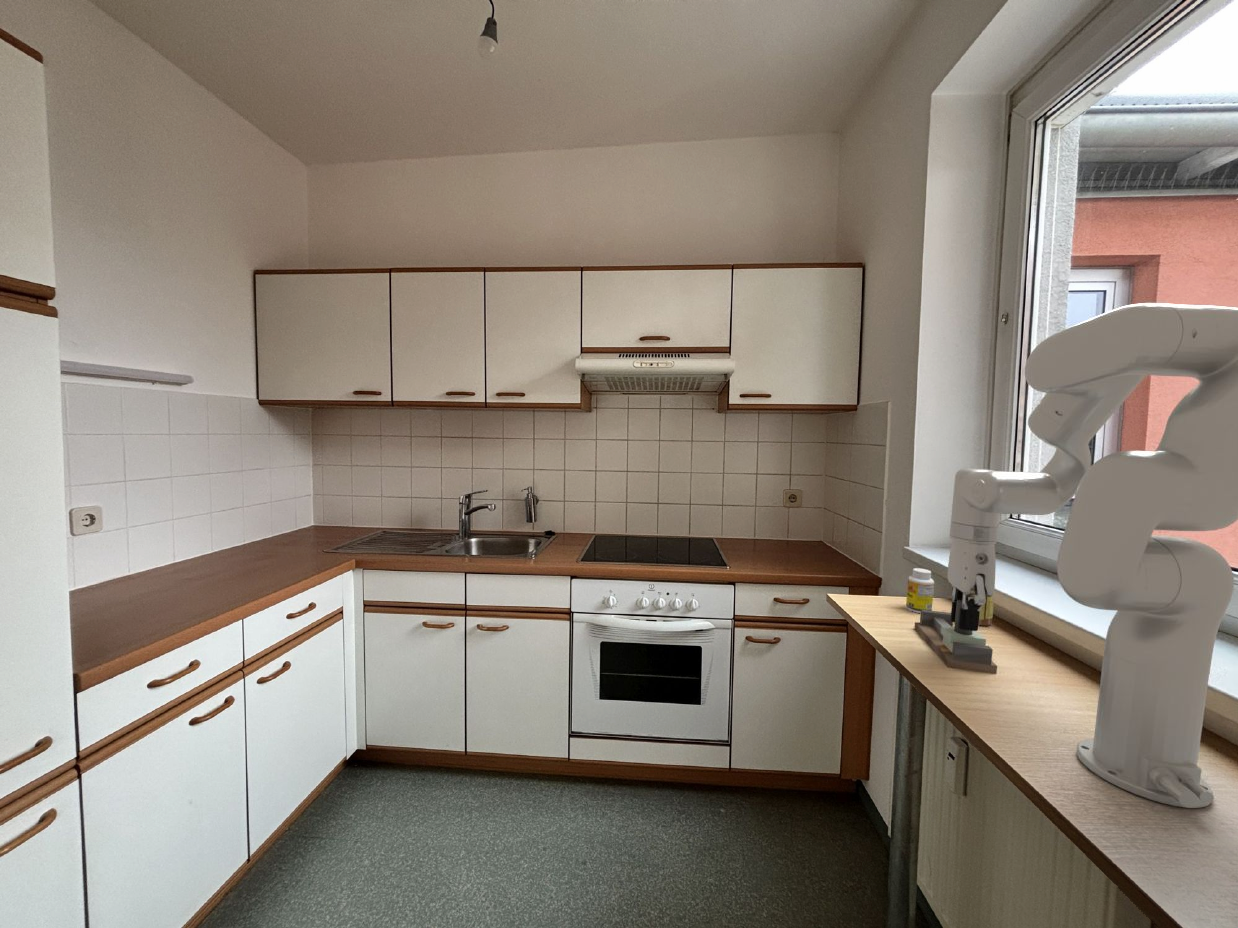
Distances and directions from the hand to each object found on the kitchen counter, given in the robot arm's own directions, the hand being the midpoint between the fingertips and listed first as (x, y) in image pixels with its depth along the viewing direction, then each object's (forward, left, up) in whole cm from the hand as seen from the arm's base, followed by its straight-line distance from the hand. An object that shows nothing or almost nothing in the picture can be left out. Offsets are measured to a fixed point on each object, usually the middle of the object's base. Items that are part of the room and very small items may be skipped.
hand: (963, 625), depth 103 cm
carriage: (0, 0, -5) cm, 5 cm away
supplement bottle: (+29, -1, -7) cm, 30 cm away
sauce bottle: (+25, -12, -7) cm, 28 cm away
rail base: (+5, 0, -7) cm, 8 cm away
